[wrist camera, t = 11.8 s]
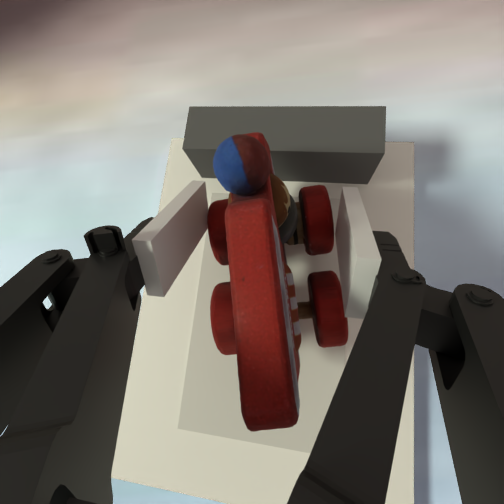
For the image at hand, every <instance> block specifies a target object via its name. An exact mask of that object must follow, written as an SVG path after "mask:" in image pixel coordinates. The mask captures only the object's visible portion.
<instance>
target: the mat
mask: <svg viewBox="0 0 504 504" xmlns="http://www.w3.org/2000/svg"><path fill="white" fill-rule="evenodd" d="M183 142H184V138H172V140H171V145H170V151H169V156H168V162H167V167H166V173H165V178H164V183H163V189H162V194H161V200H160V205H159V211H158V214H159V213H160V212H161V211H162V210H163V209H164V208H165V207H166V206H167V205H168V204H169V203H170V202H171V201H172V200H173V199H174V198H175V197H176V196H177V195H178V194H179V193H180V192H181V191H182V190H183V189H184V188H185V187H186V186H187V185H188V184H189V183H190V182H191V181H192V180H195V181H205V183H206V192H207V201H208V209H209V206H210V204H211V203H213V202H214V201H217V200H223V199H228V197H229V193H230V192H229V191H226V190H225V189H224V187H223V186H222V185H221V184H220V182H219V181H218V179H217V178H202V177H201V176H200V174H199V173H198V171H197V170H196V168H195V167H194V165H193V164H192V162H191V161H190V159H189V158H188V156H187V155H186V153H185V152H184V150H183V149H182V147H183ZM283 183H284V184H285V185H286V187H287V189H288V191H289V194H290V195H291V196H292V197H293V199H294V201H295V202H299V191H300V189H301V188H303V187H308V186H314V185H324V186H325V187H326V189H327V191H328V194H329V199H330V202H331V208H332V214H333V222H334V246H333V249H332V251H331V252H330V253H327V254H321V255H315V256H311V255H308V254H307V253H306V251H305V246H304V244H296V245H288V244H287V243H285V244H284V245H285V252H286V259H287V265H288V266H289V268H290V269H291V272H292V274H293V280H294V285H295V293H296V301H297V302H308V301H309V293H308V284H307V278H308V275H309V274H310V273H313V272H320V271H329V270H331V271H334V272H335V273H336V274H337V276H338V279H339V281H340V284H341V280H340V272H339V263H338V254H337V246H336V237H335V230H336V224H337V217H338V210H339V204H340V197H341V191H342V187H358V190H359V193H360V196H361V199H362V202H363V205H364V208H365V211H366V214H367V217H368V220H369V223H370V226H371V229H372V231H385V232H389V233H391V234H392V235H393V236H394V237H396V238H397V241H398V243H399V246H400V247H401V249H402V252H403V254H404V256H405V258H406V260H407V263H408V265H409V267H410V269H413V270H414V142H385V154H384V156H383V158H382V159H381V161H380V163H379V165H378V167H377V168H376V170H375V172H374V174H373V176H372V177H371V179H370V181H369V183H368V184H345V183H320V182H295V181H283ZM222 282H230V273H229V265H226V266H223V265H221V264H219V263H218V261H217V260H216V259H215V257H214V254H213V252H212V249H211V245H210V241H209V234H208V229H207V231H206V232H205V234H204V235H203V237H202V238H201V240H200V242H199V243H198V245H197V246H196V248H195V250H194V251H193V253H192V254H191V256H190V257H189V259H188V261H187V262H186V264H185V265H184V267H183V268H182V270H181V272H180V273H179V275H178V276H177V278H176V279H175V281H174V283H173V284H172V286H171V287H170V289H169V291H168V292H167V294H166V295H165V297H158V296H149V295H147V292H146V288H145V287H144V293H143V298H142V304H141V309H140V315H139V320H138V326H137V331H136V337H135V342H134V348H133V353H132V359H131V364H130V370H129V375H128V380H127V386H126V392H125V397H124V403H123V409H122V415H121V420H120V426H119V432H118V437H117V443H116V449H115V455H114V460H113V466H112V473H111V478H115V479H120V480H124V481H129V482H133V483H138V484H142V485H147V486H151V487H156V488H160V489H165V490H169V491H174V492H178V493H182V494H187V495H191V496H196V497H200V498H205V499H209V500H214V501H218V502H223V503H227V504H287V502H288V500H289V497H290V495H291V492H292V490H293V488H294V485H295V483H296V481H297V479H298V477H299V475H300V473H301V472H302V471H303V469H304V467H305V465H306V463H307V461H308V458H309V456H310V453H311V451H312V448H313V446H314V443H315V441H316V438H317V436H318V433H319V431H320V428H321V426H322V423H323V421H324V418H325V416H326V413H327V411H328V408H329V406H330V403H331V401H332V398H333V395H334V393H335V390H336V388H337V385H338V383H339V380H340V378H341V375H342V373H343V370H344V368H345V365H346V363H347V360H348V358H349V355H350V353H351V350H352V348H353V345H354V343H355V340H356V338H357V335H358V333H359V330H360V328H361V325H362V323H363V320H364V319H358V318H349V317H347V319H348V341H347V343H346V344H345V345H343V346H337V347H326V348H322V347H320V346H319V345H318V343H317V341H316V337H315V332H314V326H313V321H312V318H310V319H299V323H300V330H301V345H300V348H299V355H300V373H299V379H298V388H299V398H300V408H299V418H298V421H297V424H295V425H294V426H293V427H290V428H282V429H272V430H260V431H255V432H252V431H250V430H248V429H247V427H246V425H245V423H244V420H243V417H242V413H241V402H240V391H239V378H238V366H237V354H235V355H224V354H222V353H220V351H219V350H218V349H217V346H216V344H215V342H214V338H213V334H212V329H211V319H210V302H211V296H212V292H213V289H214V287H215V286H216V285H217V284H219V283H222ZM385 504H414V350H413V356H412V361H411V367H410V372H409V377H408V383H407V388H406V393H405V399H404V404H403V410H402V415H401V420H400V426H399V431H398V436H397V442H396V447H395V453H394V458H393V463H392V469H391V474H390V479H389V485H388V490H387V495H386V501H385Z"/></svg>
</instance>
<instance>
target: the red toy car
mask: <svg viewBox="0 0 504 504" xmlns="http://www.w3.org/2000/svg"><path fill="white" fill-rule="evenodd" d="M213 168H214V173H215V175H216V177H217V179H218V181H219V182H220V184H221V185H222V186H223V187H224V189H225V190H226V191H229V192H230V193H229V197H228V199H223V200H217V201H214V202H213V203H211V204H210V206H209V209H208V215H207V225H208V234H209V241H210V245H211V249H212V252H213V254H214V257H215V259H216V260H217V261H218V263H219V264H221V265H223V266H226V265H229V273H230V282H222V283H219V284H217V285H216V286H215V287H214V289H213V292H212V296H211V302H210V319H211V329H212V334H213V338H214V342H215V344H216V346H217V349H218V350H219V351H220V353H222V354H224V355H235V354H237V366H238V378H239V391H240V402H241V413H242V417H243V420H244V423H245V425H246V427H247V429H248V430H250V431H252V432H255V431H260V430H272V429H282V428H290V427H293V426H294V425H295V424H297V421H298V418H299V408H300V398H299V388H298V379H299V373H300V355H299V348H300V345H301V330H300V323H299V319H310V318H312V321H313V326H314V332H315V337H316V341H317V343H318V345H319V346H320V347H322V348H326V347H337V346H343V345H345V344H346V343H347V341H348V319H347V317H345V315H344V306H343V298H342V289H341V284H340V281H339V279H338V276H337V274H336V273H335V272H334V271H331V270H329V271H320V272H313V273H310V274H309V275H308V278H307V284H308V293H309V301H308V302H297V301H296V293H295V285H294V280H293V274H292V272H291V269H290V268H289V266H288V265H287V259H286V252H285V245H284V244H285V243H287V244H288V245H296V244H304V246H305V251H306V253H307V254H308V255H311V256H315V255H321V254H327V253H330V252H331V251H332V249H333V246H334V222H333V214H332V208H331V202H330V199H329V194H328V191H327V189H326V187H325V186H324V185H314V186H308V187H303V188H301V189H300V191H299V202H295V201H294V199H293V197H292V196H291V195H290V194H289V191H288V189H287V187H286V185H285V184H284V183H283V181H282V180H281V179H280V178H278V177H277V176H275V172H274V167H273V162H272V157H271V153H270V148H269V145H268V143H267V141H266V139H265V137H264V135H263V134H262V133H259V132H254V133H248V134H237V135H233V136H231V137H229V138H227V139H225V140H224V141H223V142H222V143H221V144H220V145H219V146H218V147H217V150H216V152H215V155H214V158H213Z"/></svg>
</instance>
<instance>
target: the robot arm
mask: <svg viewBox="0 0 504 504" xmlns="http://www.w3.org/2000/svg"><path fill="white" fill-rule="evenodd" d="M207 215H208V201H207V192H206V183H205V181H195V180H192V181H191V182H190V183H189V184H188V185H187V186H186V187H185V188H184V189H183V190H182V191H181V192H180V193H179V194H178V195H177V196H176V197H175V198H174V199H173V200H172V201H171V202H170V203H169V204H168V205H167V206H166V207H165V208H164V209H163V210H162V211H161V212H160V213H159V214H158V215H157V216H156V217H154V218H153V217H150V218H148V219H146V220H144V221H142V222H141V223H140V224H139V225H138V226H137V227H136V228H134V229H133V230H132V231H131V233H129V234H128V235H127V236H126V237H125V238H124V239H123V235H122V232H121V229H120V228H119V227H117V226H102V227H98V228H95V229H92V230H90V231H88V232H87V233H86V234H85V235H84V238H85V241H86V243H87V246H88V248H89V251H90V254H91V255H90V257H89V258H84V259H74V260H73V258H72V256H71V253H70V252H69V251H68V250H63V249H59V250H51V251H47V252H45V253H43V254H41V255H39V256H38V257H36V258H35V259H33V260H32V261H31V262H30V263H29V264H27V265H26V266H25V267H24V268H23V269H22V270H20V271H19V272H18V273H17V274H16V275H14V276H13V277H12V278H11V279H10V280H9V281H7V282H6V283H5V284H4V285H3V286H1V287H0V435H1V434H2V432H3V431H4V430H5V428H6V427H7V429H6V430H5V432H4V433H3V435H2V436H0V504H113V494H112V486H111V473H112V466H113V460H114V455H115V449H116V443H117V437H118V432H119V426H120V420H121V415H122V409H123V403H124V397H125V392H126V386H127V380H128V374H129V369H130V363H131V357H132V352H133V346H134V340H135V334H136V329H137V323H138V317H139V311H140V306H141V295H140V292H139V291H140V290H141V289H142V287H143V286H144V285H145V288H146V292H147V295H149V296H158V297H165V295H166V294H167V292H168V291H169V289H170V287H171V286H172V284H173V283H174V281H175V279H176V278H177V276H178V275H179V273H180V272H181V270H182V268H183V267H184V265H185V264H186V262H187V261H188V259H189V257H190V256H191V254H192V253H193V251H194V250H195V248H196V246H197V245H198V243H199V242H200V240H201V238H202V237H203V235H204V234H205V232H206V231H207V229H208V225H207ZM335 237H336V246H337V254H338V263H339V272H340V280H341V289H342V298H343V306H344V315H345V317H349V318H358V319H364V320H363V323H362V325H361V328H360V330H359V333H358V335H357V338H356V340H355V343H354V345H353V348H352V350H351V353H350V355H349V358H348V360H347V363H346V365H345V368H344V370H343V373H342V375H341V378H340V380H339V383H338V385H337V388H336V390H335V393H334V395H333V398H332V401H331V403H330V406H329V408H328V411H327V413H326V416H325V418H324V421H323V423H322V426H321V428H320V431H319V433H318V436H317V438H316V441H315V443H314V446H313V448H312V451H311V453H310V456H309V458H308V461H307V463H306V465H305V467H304V469H303V471H302V472H301V473H300V475H299V477H298V479H297V481H296V483H295V485H294V488H293V490H292V492H291V495H290V497H289V500H288V502H287V504H385V501H386V495H387V490H388V485H389V479H390V474H391V469H392V463H393V458H394V453H395V447H396V442H397V436H398V431H399V426H400V420H401V415H402V410H403V404H404V399H405V393H406V388H407V383H408V377H409V372H410V367H411V361H412V356H413V350H414V345H415V344H417V345H419V346H422V347H425V348H428V349H429V354H430V358H431V363H432V367H433V372H434V376H435V381H436V386H437V390H438V395H439V399H440V404H441V408H442V413H443V418H444V422H445V427H446V431H447V436H448V440H449V445H450V450H451V454H452V459H453V463H454V468H455V472H456V477H457V482H458V486H459V491H460V495H461V500H462V504H504V299H503V298H502V297H501V296H500V295H499V294H497V293H496V292H494V291H492V290H491V289H489V288H486V287H483V286H479V285H475V284H462V285H458V286H457V287H456V288H455V290H454V292H453V293H451V292H447V291H444V290H440V289H437V288H434V287H431V286H428V285H426V281H425V278H424V277H423V276H422V275H421V274H420V273H418V272H417V271H415V270H413V269H410V267H409V265H408V263H407V260H406V258H405V256H404V254H403V252H402V249H401V247H400V246H399V243H398V241H397V238H396V237H394V236H393V235H392V234H391V233H389V232H385V231H372V229H371V226H370V223H369V220H368V217H367V214H366V211H365V208H364V205H363V202H362V199H361V196H360V193H359V190H358V187H342V191H341V197H340V204H339V210H338V217H337V224H336V230H335ZM47 296H48V298H49V300H50V301H51V303H52V306H51V307H50V308H49V309H46V308H45V306H44V304H43V303H42V302H43V301H44V299H45V298H46V297H47ZM7 425H8V426H7Z"/></svg>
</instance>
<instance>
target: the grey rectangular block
mask: <svg viewBox="0 0 504 504" xmlns="http://www.w3.org/2000/svg"><path fill="white" fill-rule="evenodd" d="M385 124H386V106H312V107H189V113H188V119H187V124H186V130H185V136H184V142H183V147H182V149H183V150H184V152H185V153H186V155H187V156H188V158H189V159H190V161H191V162H192V164H193V165H194V167H195V168H196V170H197V171H198V173H199V174H200V176H201V177H202V178H217V177H216V175H215V173H214V168H213V158H214V155H215V152H216V150H217V147H218V146H219V145H220V144H221V143H222V142H223V141H224V140H225V139H227V138H229V137H231V136H233V135H237V134H248V133H254V132H259V133H262V134H263V135H264V137H265V139H266V141H267V143H268V145H269V148H270V153H271V157H272V162H273V167H274V172H275V176H277V177H278V178H280V179H281V180H282V181H295V182H320V183H345V184H368V183H369V181H370V179H371V177H372V176H373V174H374V172H375V170H376V168H377V167H378V165H379V163H380V161H381V159H382V158H383V156H384V154H385Z"/></svg>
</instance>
